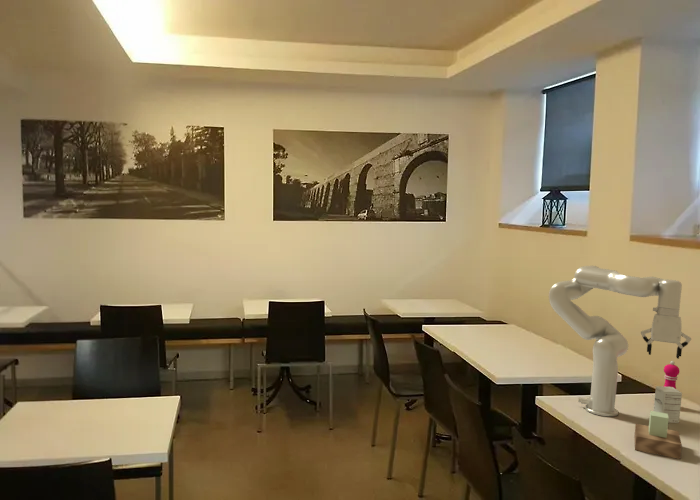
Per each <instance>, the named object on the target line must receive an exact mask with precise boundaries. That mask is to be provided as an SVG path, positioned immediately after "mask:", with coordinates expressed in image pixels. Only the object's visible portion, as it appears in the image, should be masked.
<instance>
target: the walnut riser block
mask: <svg viewBox="0 0 700 500" xmlns="http://www.w3.org/2000/svg"><path fill="white" fill-rule="evenodd" d="M679 433H680V431H679V430H678V431H677V430H674V429H673V430H672V429H668V430H667V438H664V437H659V436H654V435H649V425H644V424H639V423H635V426H634V437H633V438H634V439H633V440H634V451H637V452H644V453H647V454H652V455H653V454H654V455H657V454H658V456H662V455H663V456H664V457H668V458H673V459H679V460H681V456H682V455H681V454H682V446H683V444H682V441H681V436H680V434H679Z"/></svg>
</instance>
